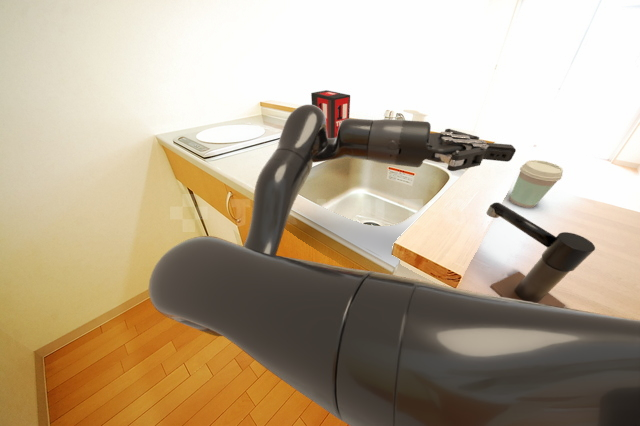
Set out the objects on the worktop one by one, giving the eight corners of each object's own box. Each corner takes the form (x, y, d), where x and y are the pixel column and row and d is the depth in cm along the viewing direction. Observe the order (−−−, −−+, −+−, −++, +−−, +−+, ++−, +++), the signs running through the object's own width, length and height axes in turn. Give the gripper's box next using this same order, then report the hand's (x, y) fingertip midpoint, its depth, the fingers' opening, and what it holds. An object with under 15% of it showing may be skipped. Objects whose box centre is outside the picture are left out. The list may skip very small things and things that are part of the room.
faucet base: (560, 309, 41) (603, 273, 34) (531, 327, 38) (571, 291, 32) (515, 275, 47) (544, 239, 40) (487, 289, 44) (514, 252, 38)
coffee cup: (546, 212, 62) (575, 173, 55) (515, 213, 63) (539, 174, 55) (525, 195, 69) (548, 158, 62) (496, 196, 69) (516, 159, 62)
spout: (581, 267, 35) (602, 247, 32) (562, 274, 34) (582, 254, 31) (494, 211, 46) (504, 193, 44) (478, 215, 45) (488, 197, 43)
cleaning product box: (348, 141, 110) (350, 95, 97) (333, 145, 105) (334, 98, 93) (326, 132, 120) (326, 90, 108) (313, 136, 116) (311, 92, 104)
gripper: (395, 149, 47) (491, 158, 43) (389, 179, 37) (513, 196, 33) (402, 110, 43) (511, 116, 38) (398, 133, 33) (543, 145, 28)
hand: (511, 153), depth 35 cm, fingers closed
